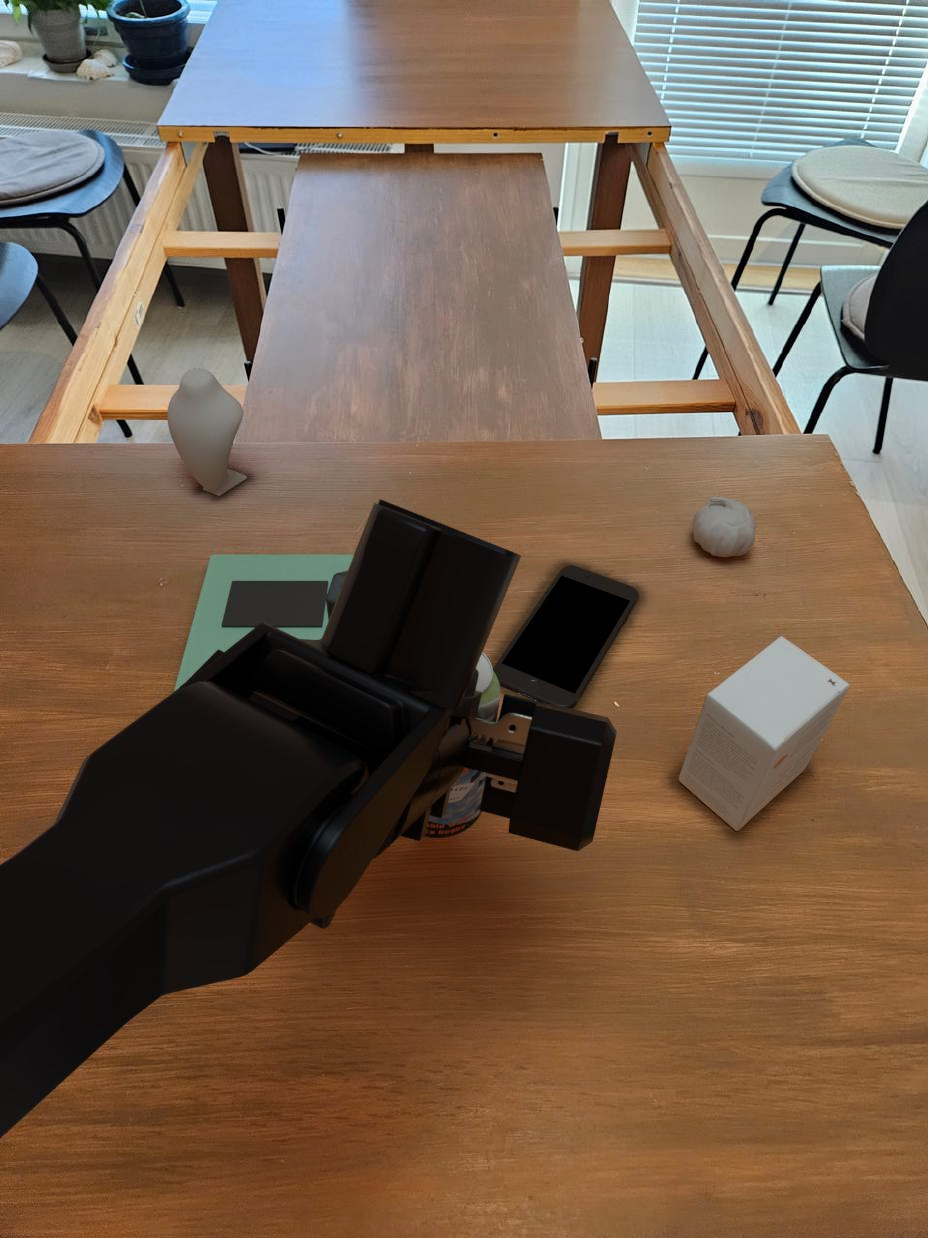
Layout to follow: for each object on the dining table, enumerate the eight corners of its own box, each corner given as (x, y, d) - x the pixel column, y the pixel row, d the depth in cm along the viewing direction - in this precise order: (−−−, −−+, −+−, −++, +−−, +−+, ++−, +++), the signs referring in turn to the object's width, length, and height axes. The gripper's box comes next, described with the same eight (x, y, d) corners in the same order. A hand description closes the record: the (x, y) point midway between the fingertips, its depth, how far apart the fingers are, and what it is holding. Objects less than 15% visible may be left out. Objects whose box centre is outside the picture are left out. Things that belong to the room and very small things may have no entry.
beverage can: (370, 830, 54) (352, 708, 45) (419, 738, 59) (412, 612, 50) (466, 866, 52) (467, 746, 44) (509, 769, 57) (517, 643, 48)
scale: (335, 840, 61) (331, 819, 59) (145, 840, 61) (134, 819, 59) (363, 572, 78) (360, 549, 76) (215, 572, 78) (209, 548, 76)
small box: (744, 723, 68) (782, 631, 60) (806, 772, 65) (854, 682, 57) (674, 781, 64) (704, 691, 56) (735, 835, 61) (776, 749, 54)
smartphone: (485, 681, 71) (485, 674, 70) (564, 566, 80) (565, 559, 79) (569, 719, 68) (571, 712, 68) (642, 596, 77) (643, 589, 77)
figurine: (172, 487, 86) (138, 379, 77) (207, 458, 89) (179, 350, 80) (233, 512, 84) (206, 404, 75) (268, 480, 87) (246, 373, 78)
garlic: (673, 538, 82) (683, 494, 78) (716, 517, 84) (728, 473, 80) (719, 577, 78) (733, 533, 74) (763, 554, 80) (778, 509, 76)
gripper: (642, 620, 34) (641, 616, 49) (202, 526, 38) (328, 549, 53) (580, 899, 35) (598, 810, 50) (153, 782, 38) (292, 731, 54)
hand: (450, 718), depth 52 cm, fingers closed on beverage can, 6 cm apart
